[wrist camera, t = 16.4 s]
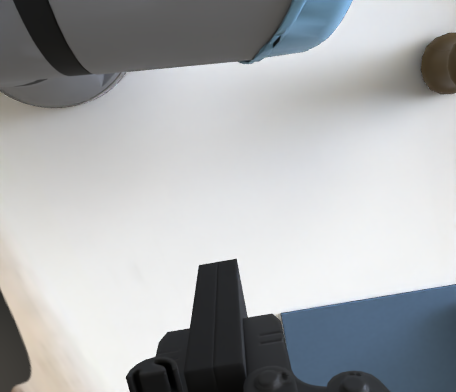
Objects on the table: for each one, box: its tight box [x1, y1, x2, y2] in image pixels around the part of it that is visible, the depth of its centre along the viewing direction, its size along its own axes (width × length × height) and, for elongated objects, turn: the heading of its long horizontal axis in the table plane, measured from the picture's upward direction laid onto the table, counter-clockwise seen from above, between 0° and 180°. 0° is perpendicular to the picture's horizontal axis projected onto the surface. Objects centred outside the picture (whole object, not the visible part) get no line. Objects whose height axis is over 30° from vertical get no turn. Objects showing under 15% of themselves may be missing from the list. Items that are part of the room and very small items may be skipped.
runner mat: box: [281, 284, 456, 392], centre depth 46 cm, size 34×16×1 cm, turn 100°
